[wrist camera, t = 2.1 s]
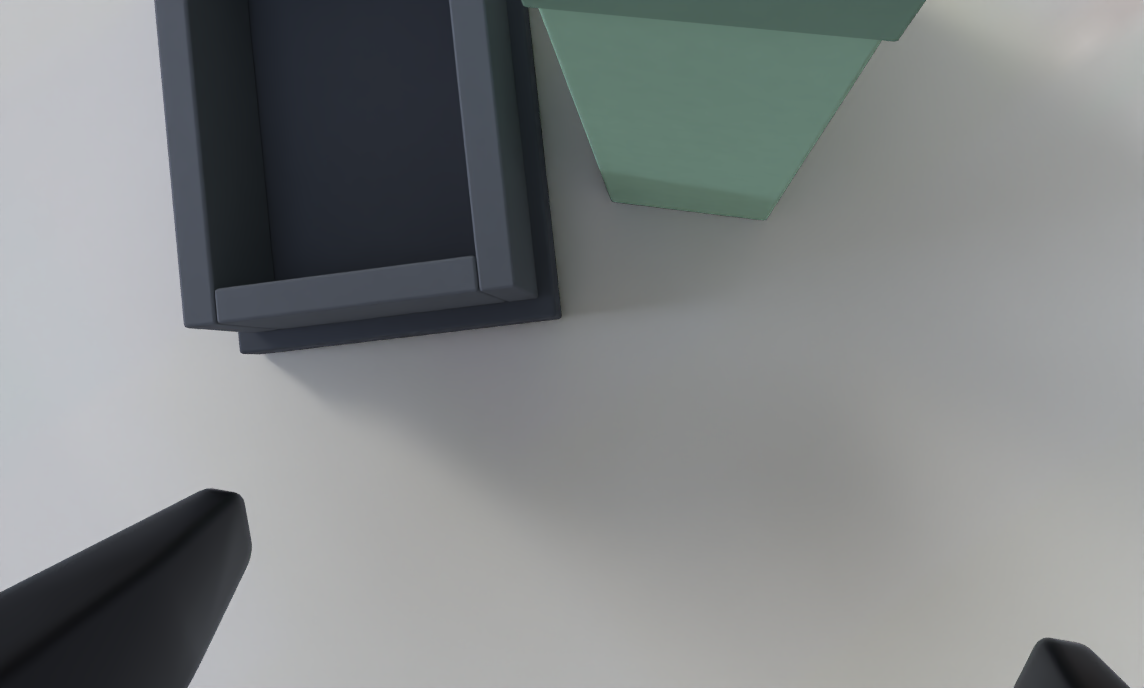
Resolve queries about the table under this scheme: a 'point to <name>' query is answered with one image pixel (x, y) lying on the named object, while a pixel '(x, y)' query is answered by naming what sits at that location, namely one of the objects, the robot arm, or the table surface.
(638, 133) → the green box
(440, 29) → the dark grey open box
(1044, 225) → the table surface
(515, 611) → the table surface
